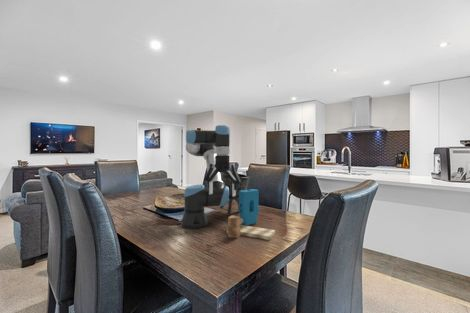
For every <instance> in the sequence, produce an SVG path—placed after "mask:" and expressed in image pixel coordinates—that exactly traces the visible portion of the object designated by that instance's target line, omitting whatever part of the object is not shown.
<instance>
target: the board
mask: <svg viewBox="0 0 470 313" xmlns="http://www.w3.org/2000/svg"><path fill="white" fill-rule="evenodd" d="M226 233H227V234H228V228H226ZM275 234H276V230H275V229H270V228H263V227H259V226H250V225H243V224H242V227H240V236H242V237H243V236H244V237H250V238H255V239H256V238H257V239H261V240H266V241H271V239H273V237H274V236H275Z"/></svg>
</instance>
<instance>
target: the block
mask: <svg viewBox="0 0 470 313" xmlns="http://www.w3.org/2000/svg"><path fill="white" fill-rule="evenodd" d="M259 194H260V192H259V189H256V188H255V189H254V188H251V189H247V190H242V191H239V211H238V212H239V213H238V214H239V216H240V219H243V222H242V225H245V226H250V225H255V224H257V221H258V216H259V211H260V210H259V205H260V204H259V199H260V198H259V196H260V195H259Z"/></svg>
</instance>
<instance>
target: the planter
mask: <svg viewBox="0 0 470 313" xmlns="http://www.w3.org/2000/svg"><path fill="white" fill-rule="evenodd" d="M231 173H232V175H233V176H234V174H233V172H231ZM238 175H239V178H240V180H241V182H239V183H238V184H237V190H236V196H234V197H233V196H232V184H233V181H232V180H231V179H230V177H229V176H228V175H227V174H226V172H225V173H222V172H221V178H222V182H224V183H225V186H228V187H229V199H228V207H227V214H226V215H230V216H231V213H232V212H231V211H232V207H233V206H232V205H233V203H234V202H233V201H236V204H237V211H238V212H239V191H242V190H248V186H249V180H250V176H249V175H246V174H243V173H238ZM234 177H235V176H234ZM235 179H236V178H235ZM219 209H224V206H219Z"/></svg>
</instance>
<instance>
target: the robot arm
mask: <svg viewBox="0 0 470 313" xmlns="http://www.w3.org/2000/svg"><path fill="white" fill-rule="evenodd" d="M214 129H215V130H209V129H208V130H201V129H200V130H199V129H198V130H197V129H187V130H186V132H185V143H186V145H185V150H186V152H187V153H188V154H190V155H192V156H195V157H203V159H204V160H205V162H206V163H205V164H206V171H207V173H206V175H205V177H204V181H206V182H207V186H205V185H204V184H194V185H193V184H192V185H190V186H187V187H185V189H184V194H183V197H184V211H183V216H182V220H181V222H180V223H181V224H180V225H181V227H182V228H184V229H188V230H196V229H202V228H205V227H206V226H208V219H207V215H206V213H205V208H208V207H209V208H210V207H220V206H227V205H228V204H229V200H230V199H229V187H228V186H225V183H224V182H222V173H225V172H226V174H227V175H228V176H229V177H230V179H231V180H232V181H233V184H232V196H233V197H234V196H236V190H237V184H238V183H239V182H241V180H240V178H239V175H238V174H239V173H238V171H237V168H236V164H234V163H233V164H230V151H231V150H230V144H231V143H230V142H231V141H230V140H231V139H230V135H231V134H230V133H231V131H230V130H231V129H230V126H229V125H225V124H224V125H223V124H218V125H215V128H214ZM230 169H231V170H230ZM231 171H232V172H231ZM232 173H233V174H234V176H235V177H234V176H233V175H232ZM235 178H236V179H235Z"/></svg>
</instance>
